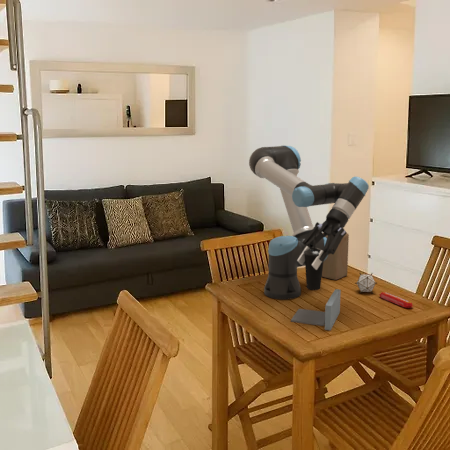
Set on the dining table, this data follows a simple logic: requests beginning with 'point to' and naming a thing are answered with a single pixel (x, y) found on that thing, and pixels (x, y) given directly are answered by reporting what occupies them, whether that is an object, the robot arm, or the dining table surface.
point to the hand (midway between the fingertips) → (306, 264)
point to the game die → (366, 283)
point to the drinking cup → (311, 273)
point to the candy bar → (396, 300)
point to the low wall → (332, 309)
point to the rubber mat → (309, 317)
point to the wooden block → (337, 261)
